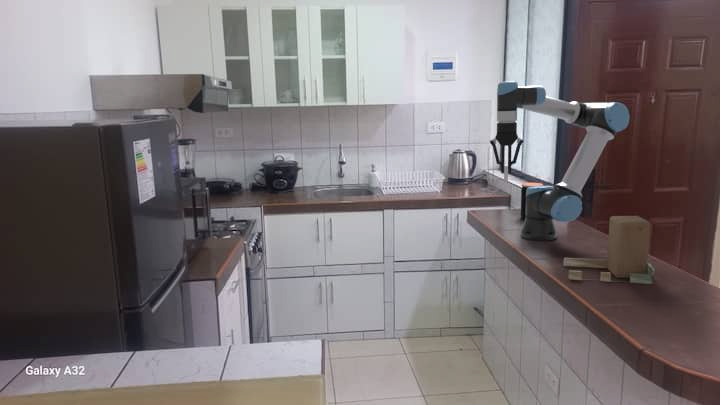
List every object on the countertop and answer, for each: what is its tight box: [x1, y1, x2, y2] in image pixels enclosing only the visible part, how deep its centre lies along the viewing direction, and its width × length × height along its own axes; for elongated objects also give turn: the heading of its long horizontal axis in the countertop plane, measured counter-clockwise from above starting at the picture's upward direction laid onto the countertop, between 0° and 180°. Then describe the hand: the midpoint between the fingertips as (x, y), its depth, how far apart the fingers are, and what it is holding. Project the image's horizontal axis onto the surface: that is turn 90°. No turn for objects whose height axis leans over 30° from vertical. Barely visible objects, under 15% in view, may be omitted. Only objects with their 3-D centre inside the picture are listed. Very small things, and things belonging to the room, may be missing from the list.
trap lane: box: [563, 257, 656, 285], centre depth 171 cm, size 15×26×5 cm, turn 74°
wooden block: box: [606, 215, 651, 279], centre depth 168 cm, size 10×10×20 cm
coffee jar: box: [520, 182, 544, 220], centre depth 252 cm, size 11×11×18 cm
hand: (505, 181), depth 195 cm, fingers closed
